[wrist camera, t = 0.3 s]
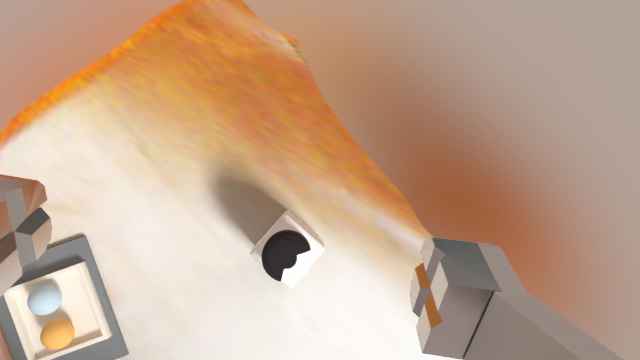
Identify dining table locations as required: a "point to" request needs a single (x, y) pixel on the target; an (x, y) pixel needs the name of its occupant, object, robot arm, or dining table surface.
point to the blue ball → (44, 300)
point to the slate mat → (102, 353)
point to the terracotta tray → (4, 347)
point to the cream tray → (60, 312)
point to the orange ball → (57, 334)
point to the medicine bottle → (288, 249)
